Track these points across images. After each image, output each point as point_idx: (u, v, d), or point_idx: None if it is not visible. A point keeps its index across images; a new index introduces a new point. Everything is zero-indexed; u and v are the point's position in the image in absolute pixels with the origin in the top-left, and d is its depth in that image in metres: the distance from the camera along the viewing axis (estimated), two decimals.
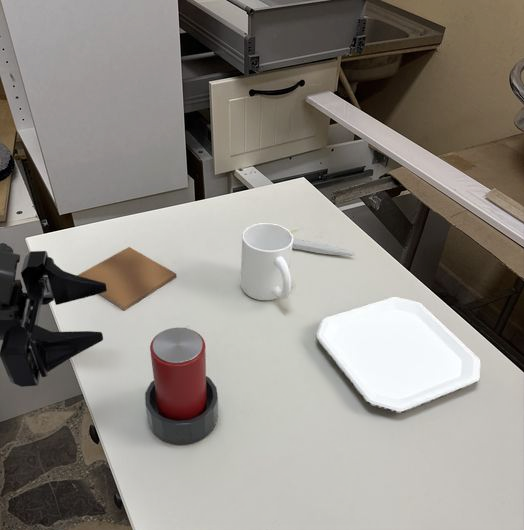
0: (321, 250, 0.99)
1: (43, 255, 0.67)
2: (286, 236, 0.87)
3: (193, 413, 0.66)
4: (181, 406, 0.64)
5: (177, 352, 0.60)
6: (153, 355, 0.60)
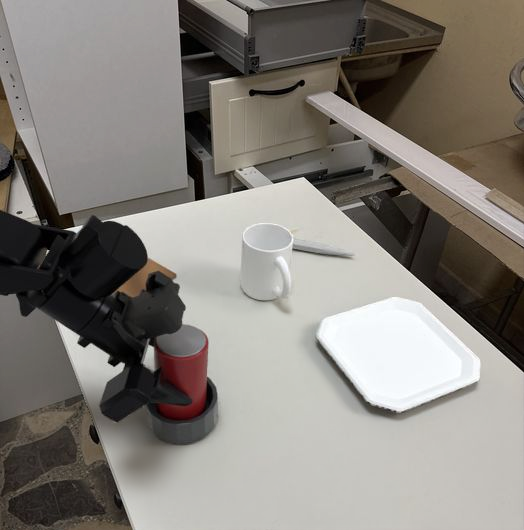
0: (321, 250, 0.99)
1: None
2: (286, 236, 0.87)
3: (191, 413, 0.66)
4: None
5: (180, 347, 0.60)
6: (156, 348, 0.60)
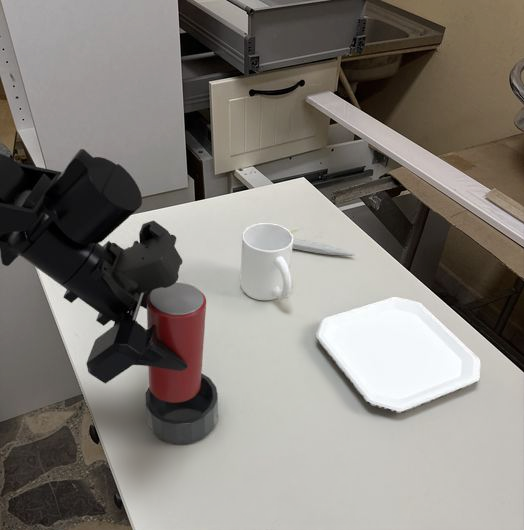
0: (321, 250, 0.99)
1: None
2: (286, 236, 0.87)
3: (186, 379, 0.61)
4: None
5: (176, 305, 0.56)
6: (149, 305, 0.56)
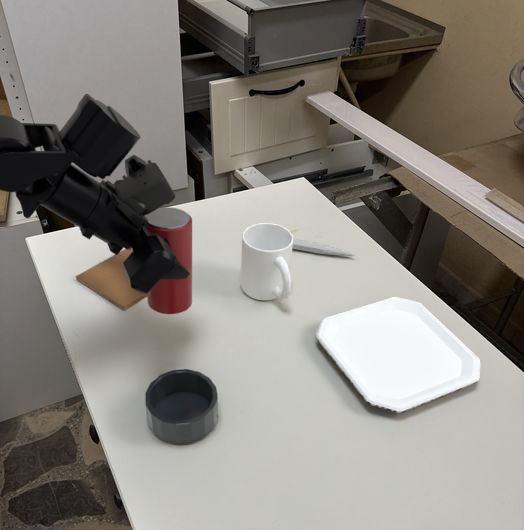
0: (321, 250, 0.99)
1: None
2: (286, 236, 0.87)
3: (187, 288, 0.73)
4: None
5: (171, 221, 0.67)
6: (151, 227, 0.66)
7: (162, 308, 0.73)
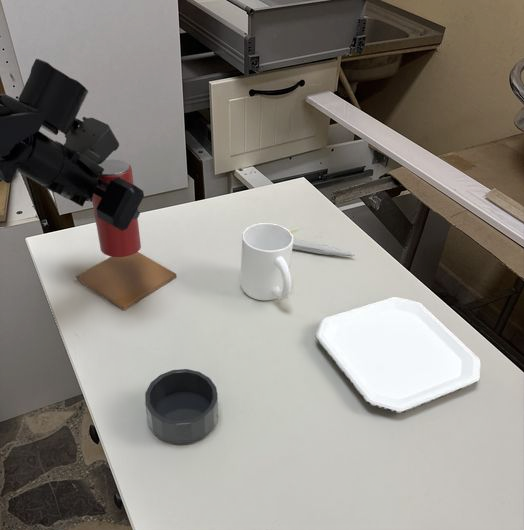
0: (321, 251, 0.99)
1: None
2: (286, 236, 0.87)
3: (137, 228, 0.83)
4: None
5: (115, 168, 0.76)
6: (102, 176, 0.75)
7: (121, 251, 0.82)
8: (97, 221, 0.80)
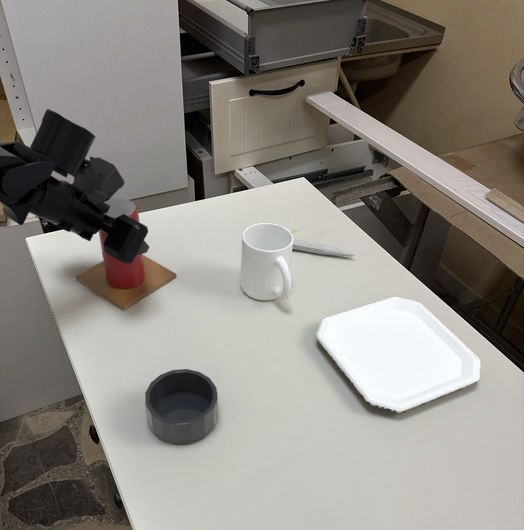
0: (321, 251, 0.98)
1: None
2: (286, 236, 0.87)
3: (142, 261, 0.87)
4: (137, 255, 0.85)
5: (123, 210, 0.80)
6: None
7: (127, 284, 0.87)
8: (104, 256, 0.84)
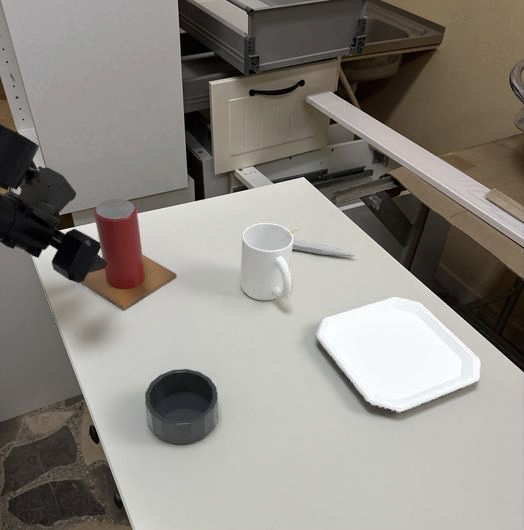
0: (321, 251, 0.98)
1: None
2: (286, 236, 0.87)
3: (142, 262, 0.87)
4: (136, 256, 0.85)
5: (122, 211, 0.80)
6: (109, 220, 0.78)
7: (127, 284, 0.87)
8: (104, 257, 0.84)
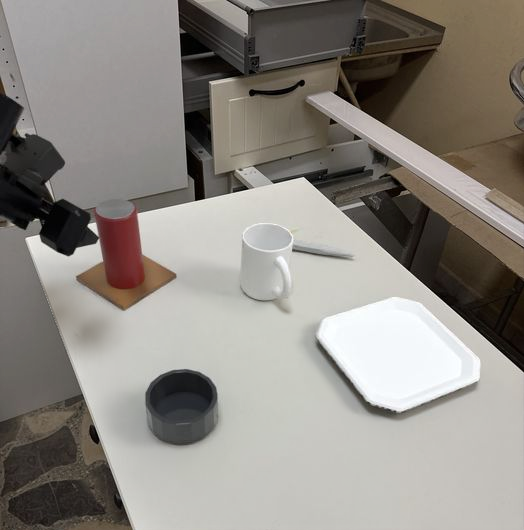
0: (321, 251, 0.98)
1: None
2: (286, 236, 0.87)
3: (142, 262, 0.87)
4: (136, 256, 0.85)
5: (122, 211, 0.80)
6: (109, 220, 0.78)
7: (127, 284, 0.87)
8: (104, 257, 0.84)
